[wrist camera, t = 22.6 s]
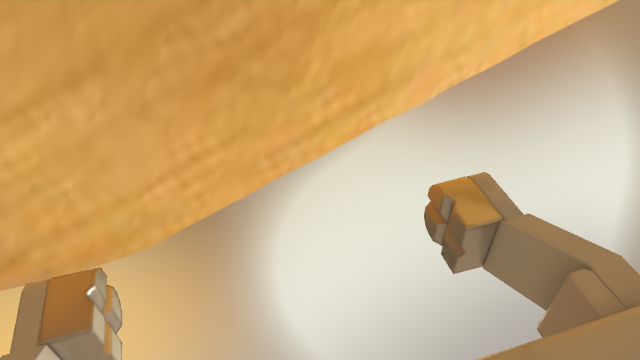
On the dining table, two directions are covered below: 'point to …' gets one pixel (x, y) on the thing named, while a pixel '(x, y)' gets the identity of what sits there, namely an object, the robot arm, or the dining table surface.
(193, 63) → the dining table surface
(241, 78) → the dining table surface
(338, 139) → the dining table surface
